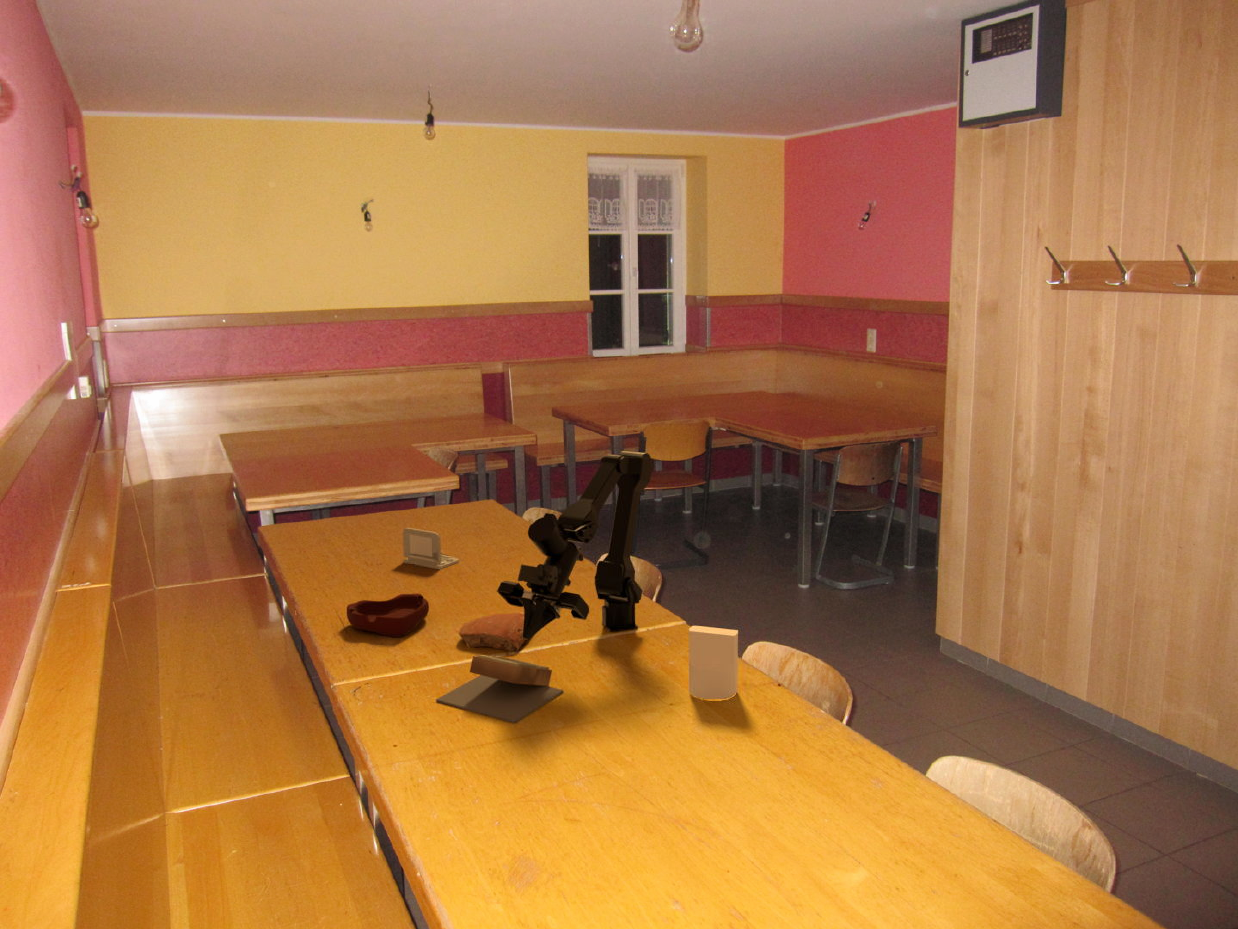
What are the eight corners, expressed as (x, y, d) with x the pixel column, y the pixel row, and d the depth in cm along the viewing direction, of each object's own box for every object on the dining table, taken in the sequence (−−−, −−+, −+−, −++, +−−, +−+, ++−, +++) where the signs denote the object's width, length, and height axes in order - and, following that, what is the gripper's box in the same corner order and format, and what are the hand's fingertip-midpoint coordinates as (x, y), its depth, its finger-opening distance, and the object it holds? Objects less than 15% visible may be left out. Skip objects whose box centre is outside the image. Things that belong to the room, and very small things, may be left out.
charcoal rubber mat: (487, 673, 190) (487, 671, 190) (563, 692, 181) (563, 690, 181) (436, 701, 178) (436, 699, 178) (514, 723, 169) (514, 721, 169)
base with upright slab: (741, 685, 184) (742, 625, 181) (731, 704, 175) (732, 641, 173) (695, 679, 187) (695, 620, 184) (683, 698, 178) (683, 636, 176)
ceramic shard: (476, 602, 217) (540, 615, 215) (472, 630, 218) (535, 643, 215) (453, 615, 203) (521, 630, 200) (448, 645, 204) (516, 660, 201)
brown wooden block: (510, 658, 190) (473, 653, 180) (552, 668, 185) (516, 664, 175) (506, 675, 189) (469, 672, 179) (548, 686, 184) (512, 683, 174)
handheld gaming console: (461, 562, 267) (459, 526, 265) (438, 570, 260) (436, 534, 258) (425, 555, 274) (424, 521, 272) (402, 563, 266) (400, 528, 265)
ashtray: (360, 647, 206) (359, 624, 205) (344, 623, 220) (342, 602, 219) (442, 632, 214) (440, 611, 213) (421, 611, 228) (420, 590, 227)
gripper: (501, 541, 191) (466, 610, 184) (580, 553, 182) (547, 627, 174) (526, 569, 199) (494, 637, 192) (603, 583, 190) (572, 655, 182)
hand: (525, 638), depth 185 cm, fingers closed
